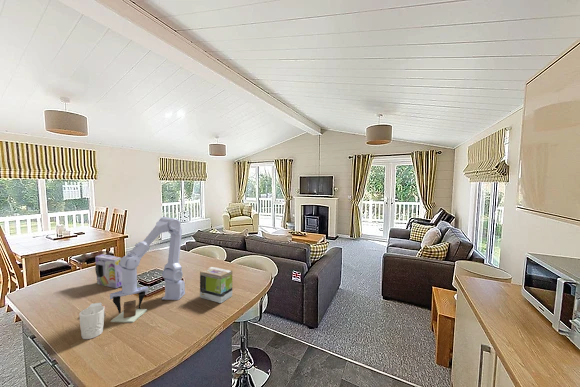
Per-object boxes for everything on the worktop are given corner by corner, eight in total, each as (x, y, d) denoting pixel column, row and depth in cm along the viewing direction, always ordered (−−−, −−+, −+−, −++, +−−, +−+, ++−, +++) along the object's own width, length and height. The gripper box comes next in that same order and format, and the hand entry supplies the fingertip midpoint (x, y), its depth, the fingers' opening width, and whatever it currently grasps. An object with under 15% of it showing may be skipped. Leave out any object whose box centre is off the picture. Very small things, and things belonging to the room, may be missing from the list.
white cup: (89, 328, 100) (89, 305, 100) (109, 327, 101) (108, 305, 100) (74, 340, 92) (73, 316, 92) (95, 340, 93) (95, 315, 92)
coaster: (147, 310, 115) (147, 309, 115) (133, 322, 105) (133, 321, 105) (126, 309, 115) (126, 308, 115) (111, 321, 105) (111, 320, 105)
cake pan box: (94, 283, 143) (94, 255, 142) (103, 280, 148) (103, 253, 147) (114, 289, 136) (114, 259, 135) (123, 286, 141) (123, 257, 140)
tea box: (232, 295, 131) (233, 270, 131) (220, 304, 122) (220, 276, 121) (212, 290, 138) (212, 265, 137) (199, 297, 128) (199, 271, 128)
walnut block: (135, 310, 113) (135, 299, 113) (135, 315, 109) (135, 304, 109) (124, 313, 111) (124, 302, 110) (123, 318, 107) (123, 306, 107)
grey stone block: (101, 310, 114) (101, 302, 114) (98, 314, 110) (97, 306, 110) (91, 311, 113) (91, 303, 113) (87, 316, 109) (87, 308, 109)
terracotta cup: (107, 314, 110) (107, 305, 110) (100, 319, 106) (100, 310, 106) (99, 314, 111) (99, 305, 110) (91, 319, 107) (91, 309, 106)
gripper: (147, 275, 116) (147, 302, 117) (111, 281, 109) (111, 310, 109) (147, 280, 110) (148, 308, 111) (109, 287, 103) (109, 317, 103)
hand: (129, 309), depth 110 cm, fingers open, 7 cm apart
